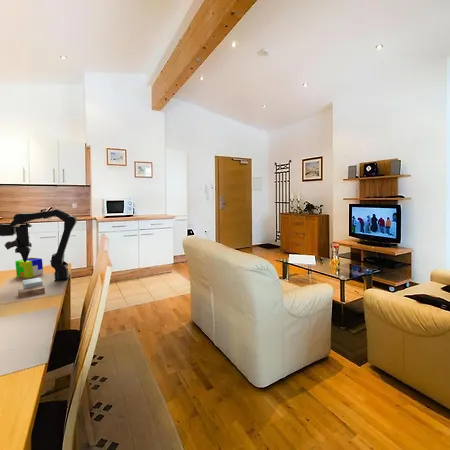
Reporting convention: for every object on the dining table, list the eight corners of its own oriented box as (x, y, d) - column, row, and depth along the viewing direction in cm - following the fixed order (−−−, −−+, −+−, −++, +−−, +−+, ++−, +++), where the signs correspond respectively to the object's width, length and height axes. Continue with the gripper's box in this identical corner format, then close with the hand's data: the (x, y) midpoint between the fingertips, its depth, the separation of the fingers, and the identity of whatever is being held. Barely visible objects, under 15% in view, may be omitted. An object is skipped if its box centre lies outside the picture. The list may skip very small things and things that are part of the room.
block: (40, 286, 159) (39, 277, 159) (43, 290, 153) (42, 281, 152) (23, 289, 154) (22, 280, 154) (25, 293, 148) (24, 284, 147)
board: (43, 290, 152) (43, 285, 151) (45, 293, 148) (44, 288, 148) (18, 295, 145) (18, 290, 145) (19, 298, 141) (18, 292, 141)
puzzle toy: (43, 273, 183) (42, 258, 182) (28, 278, 174) (26, 262, 173) (32, 272, 187) (30, 257, 185) (16, 276, 177) (15, 261, 176)
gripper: (7, 234, 165) (10, 260, 167) (2, 238, 149) (4, 267, 151) (30, 232, 171) (32, 258, 173) (27, 236, 155) (30, 264, 157)
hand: (25, 261), depth 163 cm, fingers closed
